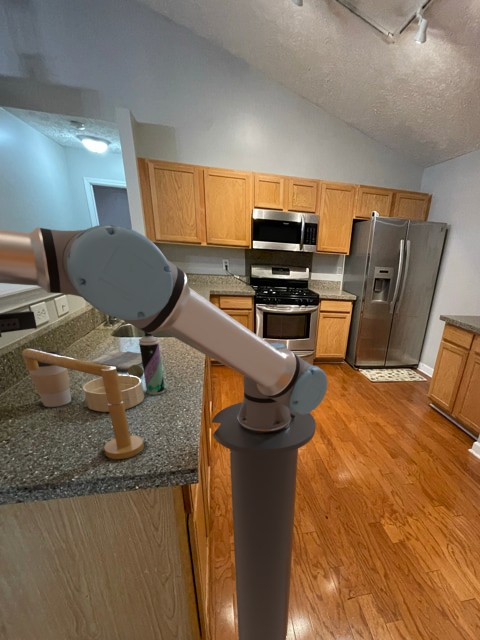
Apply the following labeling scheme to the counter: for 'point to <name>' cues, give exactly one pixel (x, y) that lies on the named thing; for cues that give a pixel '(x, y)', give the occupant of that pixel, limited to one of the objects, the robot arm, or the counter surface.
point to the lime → (136, 371)
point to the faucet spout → (105, 372)
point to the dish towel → (120, 360)
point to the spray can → (151, 364)
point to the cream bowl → (128, 387)
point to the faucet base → (122, 435)
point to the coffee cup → (52, 383)
